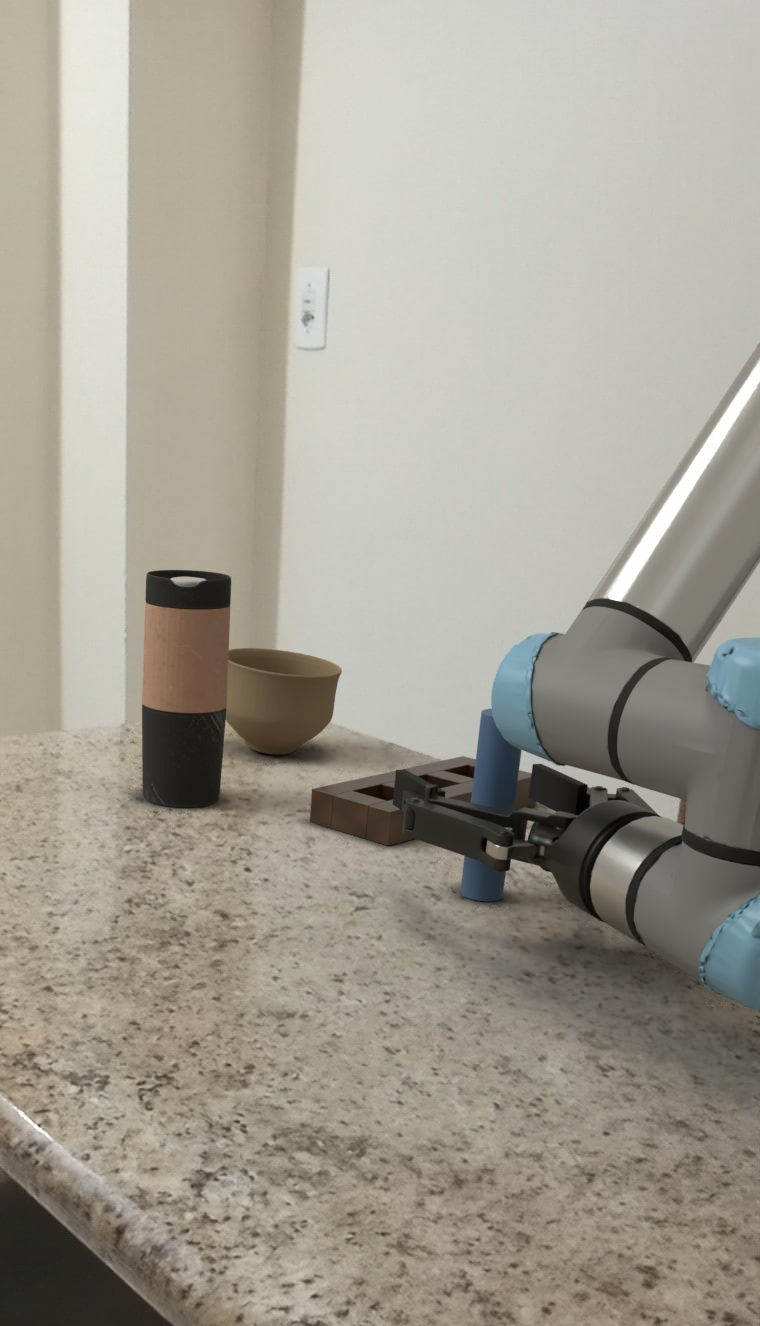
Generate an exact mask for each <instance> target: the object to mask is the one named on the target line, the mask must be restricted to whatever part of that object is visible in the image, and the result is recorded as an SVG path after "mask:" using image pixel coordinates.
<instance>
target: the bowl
mask: <svg viewBox="0 0 760 1326" xmlns="http://www.w3.org/2000/svg"><path fill="white" fill-rule="evenodd" d="M342 673H343V671H342V668H341V667H340V666H339V665H338V664H336V663H334V662H332V661H330V660H326V659H324V658H320V657H317V656H314V655H311V654H310V655H309V654H304V653H300V652H294V651H289V650H282V649H272V648H259V647H258V648H257V647H248V648H246V647H242V648H241V647H240V648H231V649H229V656H228V682H227V706H226V721H225V722H226V723H227V724H228V725H229V726H230V728H231V729H232V730H233V731H235V732H236V734H237V735H238V736H239V737H240V738H241V739H243V741H244V744H245V746H246V747H248V748H249V749H250V750H252V751H255V752H257V753H262V754H267V755H273V756H274V755H275V756H283V755H289V754H292V753H294V752H295V751H296V749H297V748H298V747H300V746H302V745H304V744H306V743H307V742H309V741H311V740H312V739H314V738H315V737H317V736H318V735H320V734H321V733H322V732H323V731H324V729H326V728H327V726H328V725H329V724H330V723H331V721H332V719H333V716H334V712H335V711H334V710H335V701H336V694H337V689H338V684H339V679H340V677H341V675H342Z"/></svg>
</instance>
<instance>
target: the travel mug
mask: <svg viewBox="0 0 760 1326" xmlns="http://www.w3.org/2000/svg"><path fill="white" fill-rule="evenodd" d="M145 578H146V579H145V599H144V600H145V602H144V603H145V604H144V627H143V628H144V630H143V633H144V635H143V656H142V657H143V661H142V664H143V665H142V691H141V755H142V756H141V762H142V764H141V766H142V767H141V769H142V772H141V776H142V780H141V781H142V797H143V798H144V800H146V801H147V802H150V803H151V804H154V805H159V806H164V807H170V808H200V807H207V806H211V805H214V804H215V803H217V802H218V801H219V800H220V793H221V783H222V772H223V770H222V769H223V757H224V747H225V745H224V744H225V733H226V732H225V731H226V722H227V721H226V706H227V682H228V656H229V650H230V628H231V627H230V624H231V623H230V622H231V620H230V619H231V600H232V577H231V576H230V575H229V574H226V573H220V572H215V571H207V570H195V569H193V570H192V569H191V570H190V569H159V570H151V571H148V572H146V577H145Z"/></svg>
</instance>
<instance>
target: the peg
mask: <svg viewBox="0 0 760 1326" xmlns="http://www.w3.org/2000/svg"><path fill="white" fill-rule="evenodd" d="M521 757H522V750H521V749H519V748H517V747H515V746H513V745H511V744H510V743H509V742H508V741H506V740H505V739H503V736H502V734H501V733H500V732H499V730H498V728H497V726H496V724H495V721H494V718H493V714H492V708H486V709H482V710H481V714H480V720H479V729H478V737H477V745H476V755H475V759H476V762H475V771H474V780H473V788H472V797H471V803H474V804H478V805H483V806H487V807H492V808H497V809H501V810H506V811H510V812H514V805H515V797H516V789H517V781H518V774H519V770H520V766H521ZM506 873H507V871H504V872H499V871H497V870H494V869H492V868H490V867H489V866H487V865H485V864H484V863H482V862H480V861H478V860H475V859H472V858H469V857H466V856H464V858H463V867H462V873H461V874H462V875H461V883H460V891H459V892H460V895H461V896H463V897H464V898H466V899H469V900H472V901H476V902H496V901H497V902H498V901H501V900H502V899H503V897H504V890H505V889H504V888H505V881H506Z"/></svg>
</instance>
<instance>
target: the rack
mask: <svg viewBox="0 0 760 1326" xmlns="http://www.w3.org/2000/svg"><path fill="white" fill-rule="evenodd" d="M475 762H476V758H471V757H467V756H464V755H461V756H458V757H452V758H448V759H444V760H439V761H434V762H429V763H426V764H419V765H415V766H411V767H406V768H404V769H405V770H407V771H409V772H411V773H412V774H414V775H416V776H418V777H420V778H422V779H423V780H425V781H427V782H429V783H431V784H432V785H438V788H440V789H442V790H443V791H445V797H446V798H451V799H455V800H460V801H465V802H469V803H471V797H472V788H473V780H474V771H475ZM402 769H403V768H402ZM402 769H400V770H402ZM531 774H532V772H529V771H525V770H521V769H519V774H518V781H517V789H516V797H515V805H514V811H516V810H518V809H521V808H523V807H524V808H533V807H536V806H537V802H536V801H534V800H532V799H530V798H528V797H529V789H530V782H531ZM395 775H396V770H393V771H389V772H383V773H379V774H374V775H369V776H365V777H360V778H356V779H352V780H347V781H341V782H338V783H337V782H336V783H332V784H328V785H324V786H318V787H315V788H312V789H311V799H310V813H309V822H310V823H313V824H317V825H319V826H323V827H325V828H329V829H333V830H337V831H339V832H343V833H346V834H349V835H351V836H356V837H358V838H361V839H364V840H368V841H372V842H375V843H378V844H381V845H384V846H393V845H397V844H399V843H405V842H407V841H412V840H415V839H414V838H412V837H408V836H406V835H403V824H404V814H405V813H404V812H403V811H402V810H401V809H399V808H397V807H396V806H394V805H393V796H394V785H395Z"/></svg>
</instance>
